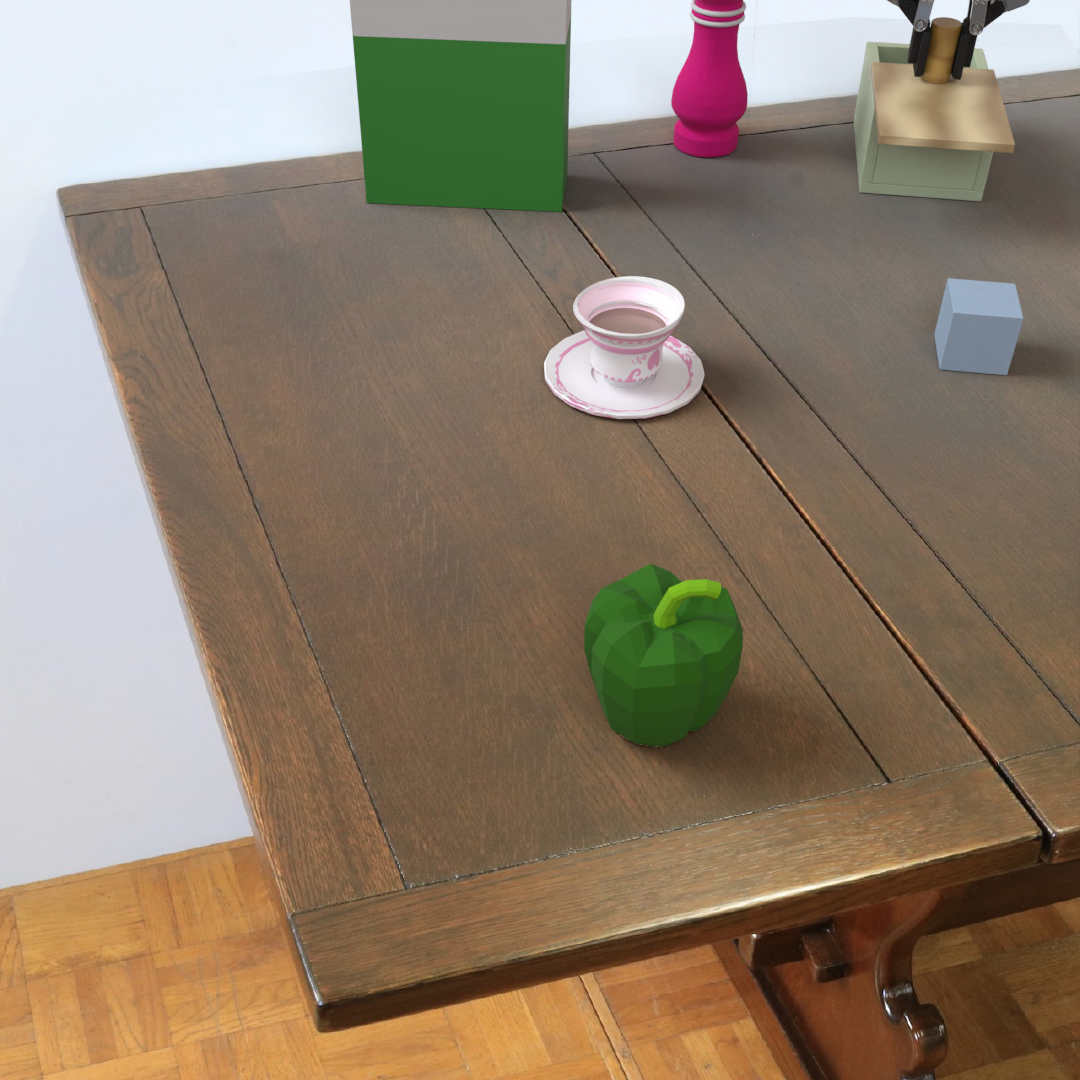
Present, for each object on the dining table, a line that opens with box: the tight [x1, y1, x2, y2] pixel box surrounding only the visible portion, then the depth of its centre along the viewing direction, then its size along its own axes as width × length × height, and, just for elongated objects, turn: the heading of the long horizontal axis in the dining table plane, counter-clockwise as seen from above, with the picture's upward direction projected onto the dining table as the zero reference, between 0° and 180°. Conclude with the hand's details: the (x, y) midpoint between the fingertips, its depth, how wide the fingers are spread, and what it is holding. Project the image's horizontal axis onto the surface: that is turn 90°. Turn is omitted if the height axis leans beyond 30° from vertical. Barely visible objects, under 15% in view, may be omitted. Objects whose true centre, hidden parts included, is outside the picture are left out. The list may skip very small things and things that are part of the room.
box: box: [853, 41, 994, 202], centre depth 125 cm, size 11×16×8 cm
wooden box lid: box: [871, 16, 1016, 154], centre depth 114 cm, size 11×16×6 cm
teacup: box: [543, 275, 706, 420], centre depth 97 cm, size 12×12×6 cm
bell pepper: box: [583, 563, 744, 748], centre depth 71 cm, size 8×8×10 cm
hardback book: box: [349, 0, 572, 213], centre depth 114 cm, size 18×7×24 cm, turn 85°
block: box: [934, 277, 1025, 376], centre depth 100 cm, size 5×5×5 cm
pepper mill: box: [670, 0, 749, 158], centre depth 123 cm, size 7×7×20 cm
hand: (936, 70), depth 119 cm, fingers closed on wooden box lid, 2 cm apart
